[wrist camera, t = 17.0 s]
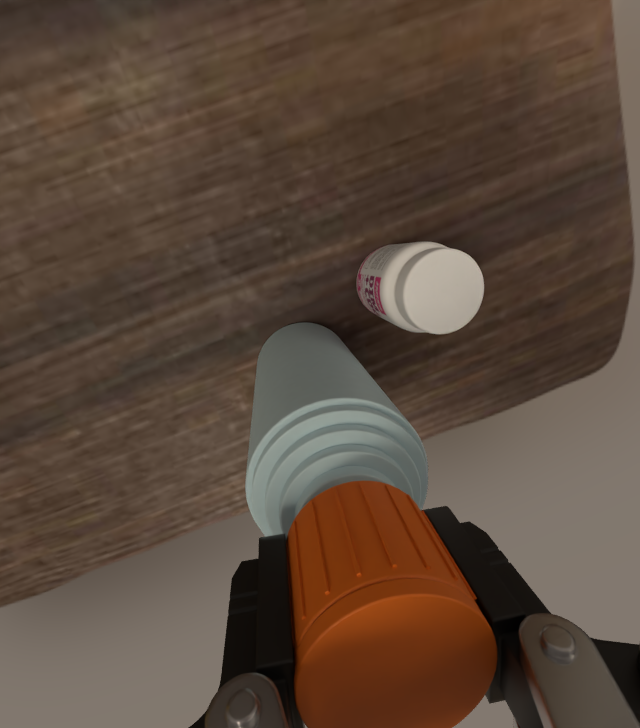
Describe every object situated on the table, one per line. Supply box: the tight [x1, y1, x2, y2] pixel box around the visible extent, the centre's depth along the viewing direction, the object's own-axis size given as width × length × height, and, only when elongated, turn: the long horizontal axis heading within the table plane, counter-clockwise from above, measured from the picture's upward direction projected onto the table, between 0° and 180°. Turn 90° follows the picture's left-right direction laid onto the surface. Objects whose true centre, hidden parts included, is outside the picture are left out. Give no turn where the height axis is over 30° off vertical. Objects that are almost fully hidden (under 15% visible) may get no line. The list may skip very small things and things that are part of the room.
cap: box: [286, 480, 498, 728], centre depth 9 cm, size 4×4×4 cm
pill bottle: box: [357, 242, 484, 334], centre depth 22 cm, size 5×5×8 cm
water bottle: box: [245, 322, 428, 539], centre depth 17 cm, size 6×6×20 cm
